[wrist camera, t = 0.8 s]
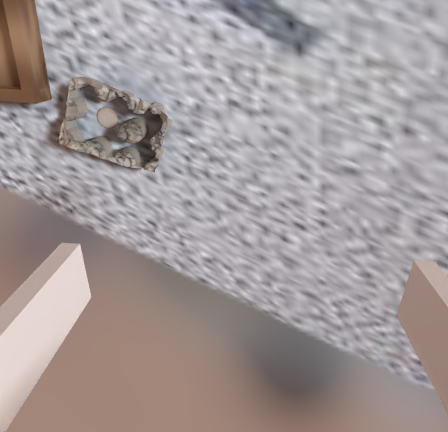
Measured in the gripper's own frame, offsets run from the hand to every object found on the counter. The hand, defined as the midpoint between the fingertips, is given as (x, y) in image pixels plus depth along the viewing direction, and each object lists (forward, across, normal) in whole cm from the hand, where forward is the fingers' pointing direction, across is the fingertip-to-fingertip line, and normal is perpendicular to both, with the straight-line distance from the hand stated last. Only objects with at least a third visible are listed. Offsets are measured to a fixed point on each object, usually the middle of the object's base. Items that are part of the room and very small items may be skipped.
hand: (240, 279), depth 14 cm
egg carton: (+26, -14, +1) cm, 30 cm away
